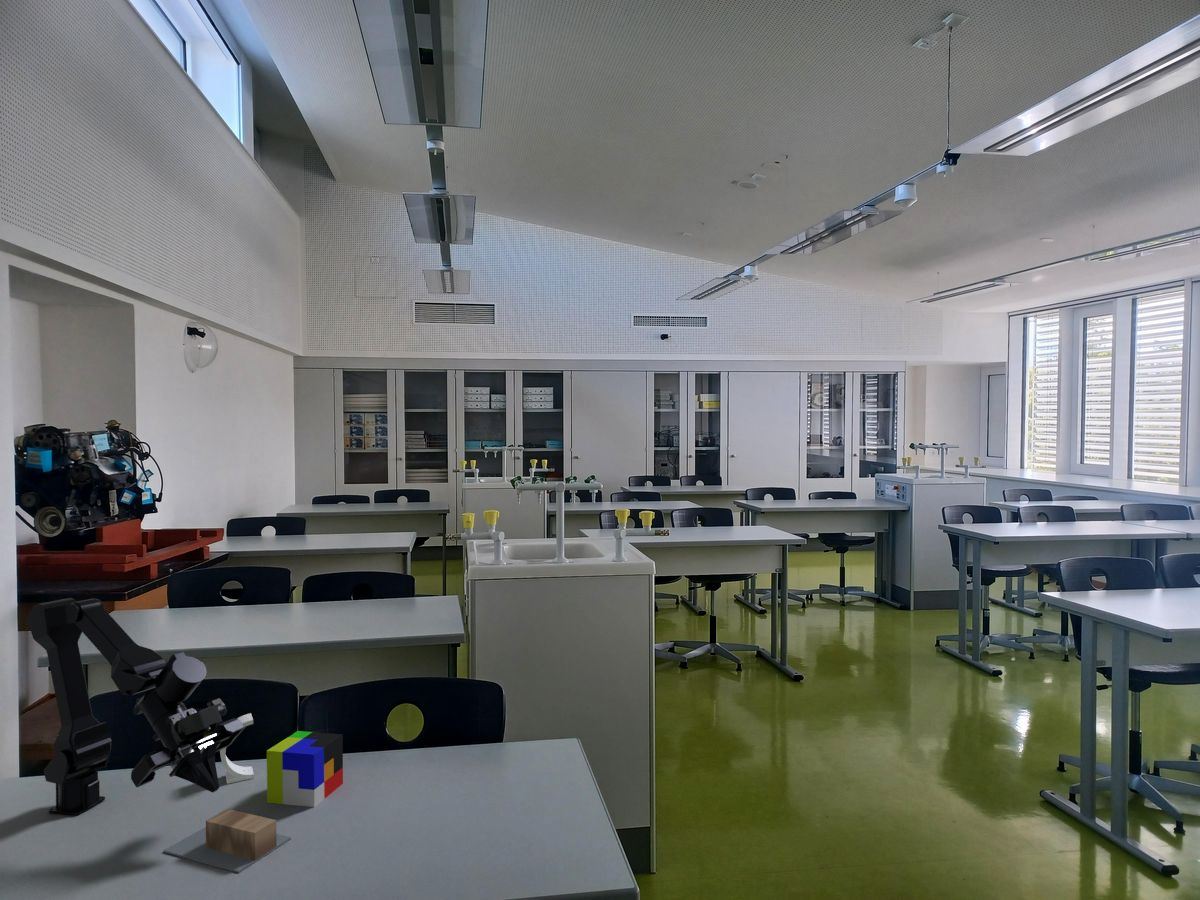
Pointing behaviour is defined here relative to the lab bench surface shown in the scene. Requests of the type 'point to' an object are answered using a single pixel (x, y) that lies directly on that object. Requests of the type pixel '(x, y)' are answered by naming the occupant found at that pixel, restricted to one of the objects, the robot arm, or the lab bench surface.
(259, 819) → the walnut block
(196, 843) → the slate mat
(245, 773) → the headphone stand
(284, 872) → the lab bench surface
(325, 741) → the puzzle toy
